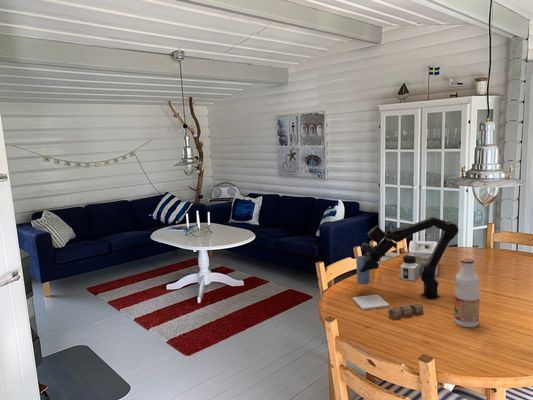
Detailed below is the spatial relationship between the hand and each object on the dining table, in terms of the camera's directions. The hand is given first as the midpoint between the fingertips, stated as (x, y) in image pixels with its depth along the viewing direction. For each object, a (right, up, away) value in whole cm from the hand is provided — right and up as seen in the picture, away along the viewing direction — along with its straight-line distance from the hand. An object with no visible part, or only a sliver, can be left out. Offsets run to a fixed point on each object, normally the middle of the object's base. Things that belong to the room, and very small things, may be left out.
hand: (360, 269), depth 208 cm
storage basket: (+45, -6, +34) cm, 57 cm away
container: (+33, -9, +21) cm, 40 cm away
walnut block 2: (+15, -17, -24) cm, 33 cm away
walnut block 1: (+10, -17, -26) cm, 32 cm away
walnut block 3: (+20, -16, -23) cm, 35 cm away
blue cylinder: (+2, -6, +1) cm, 7 cm away
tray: (+3, -15, -9) cm, 18 cm away
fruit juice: (+37, -17, -35) cm, 54 cm away
